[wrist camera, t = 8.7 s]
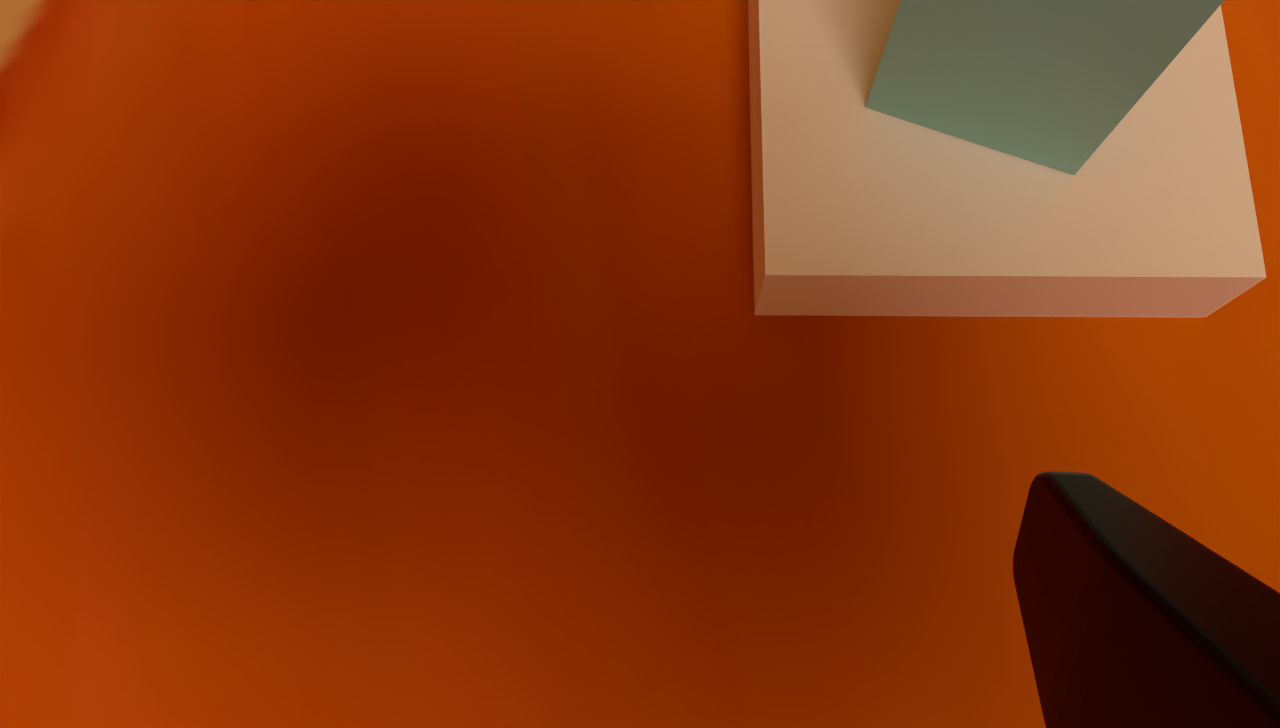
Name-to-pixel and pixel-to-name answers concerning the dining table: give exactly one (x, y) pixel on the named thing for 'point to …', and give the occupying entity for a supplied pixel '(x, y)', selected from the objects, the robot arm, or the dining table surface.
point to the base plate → (985, 191)
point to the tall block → (1030, 69)
